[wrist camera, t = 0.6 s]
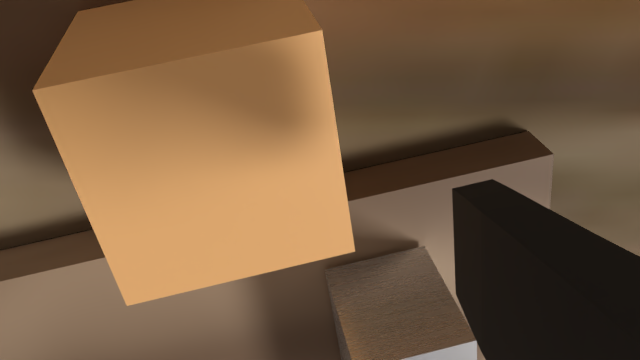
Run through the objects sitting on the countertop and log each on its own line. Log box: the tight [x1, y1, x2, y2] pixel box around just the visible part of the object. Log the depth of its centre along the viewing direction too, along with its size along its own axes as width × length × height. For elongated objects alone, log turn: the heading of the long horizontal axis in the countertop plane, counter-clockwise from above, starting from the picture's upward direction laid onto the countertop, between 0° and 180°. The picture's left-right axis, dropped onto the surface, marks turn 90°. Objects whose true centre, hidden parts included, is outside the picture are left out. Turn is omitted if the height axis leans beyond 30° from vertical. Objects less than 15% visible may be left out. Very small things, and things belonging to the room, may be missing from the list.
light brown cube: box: [32, 0, 355, 306], centre depth 14 cm, size 5×5×5 cm
